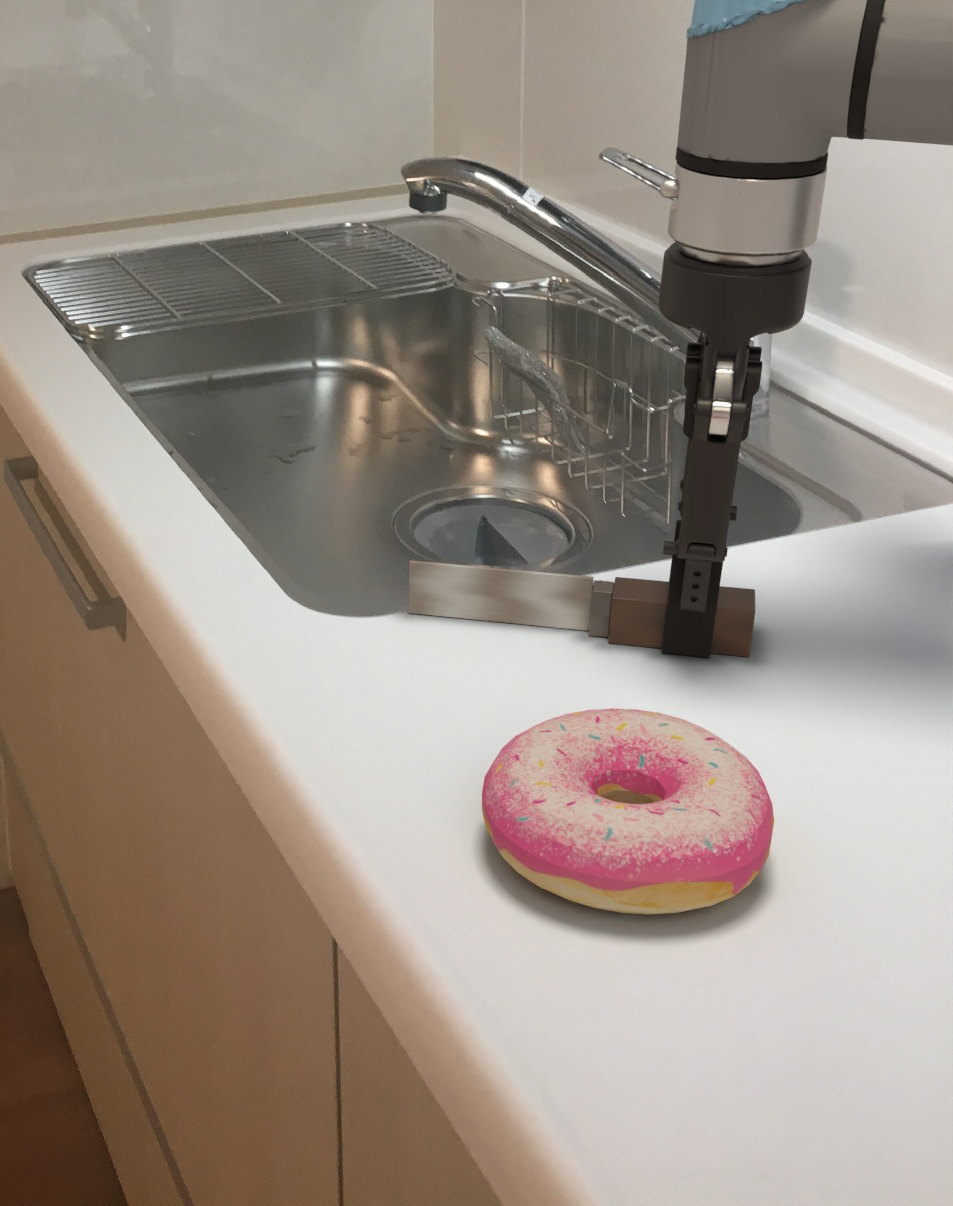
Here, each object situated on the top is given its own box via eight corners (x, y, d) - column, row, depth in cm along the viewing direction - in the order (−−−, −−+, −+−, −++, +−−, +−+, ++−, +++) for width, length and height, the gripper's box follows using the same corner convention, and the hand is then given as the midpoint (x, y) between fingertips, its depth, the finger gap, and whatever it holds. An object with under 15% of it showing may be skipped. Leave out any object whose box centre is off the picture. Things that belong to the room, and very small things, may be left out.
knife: (749, 634, 98) (756, 581, 97) (749, 657, 96) (756, 603, 94) (412, 601, 104) (413, 551, 102) (404, 622, 101) (405, 571, 100)
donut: (521, 950, 72) (527, 856, 70) (449, 787, 84) (452, 702, 82) (818, 923, 73) (833, 830, 71) (704, 766, 85) (714, 682, 83)
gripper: (670, 207, 95) (629, 573, 106) (659, 283, 81) (612, 695, 92) (808, 214, 93) (751, 586, 104) (820, 292, 79) (753, 712, 90)
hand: (686, 636), depth 98 cm, fingers closed on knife, 3 cm apart
